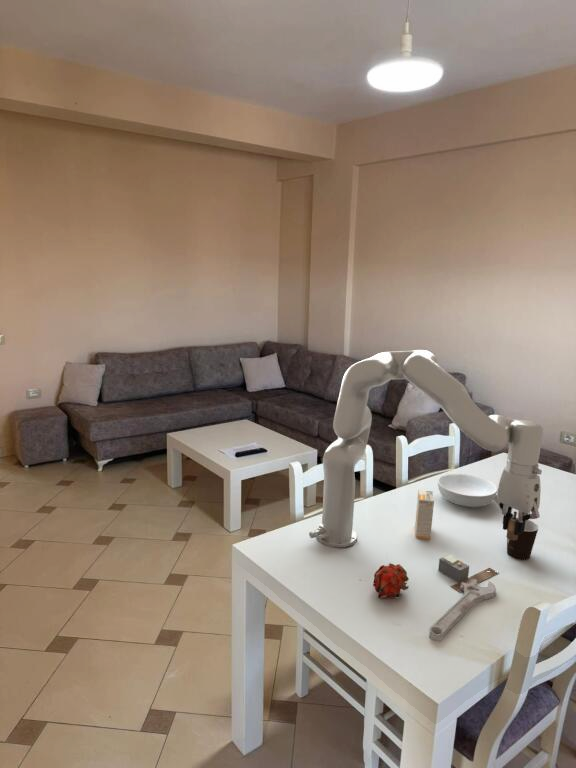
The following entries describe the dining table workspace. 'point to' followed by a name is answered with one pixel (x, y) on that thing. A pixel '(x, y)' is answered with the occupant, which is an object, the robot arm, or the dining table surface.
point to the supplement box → (424, 514)
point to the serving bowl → (467, 490)
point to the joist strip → (478, 577)
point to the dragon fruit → (390, 580)
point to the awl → (512, 528)
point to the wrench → (461, 607)
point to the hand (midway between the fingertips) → (512, 530)
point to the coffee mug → (523, 542)
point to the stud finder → (453, 568)
